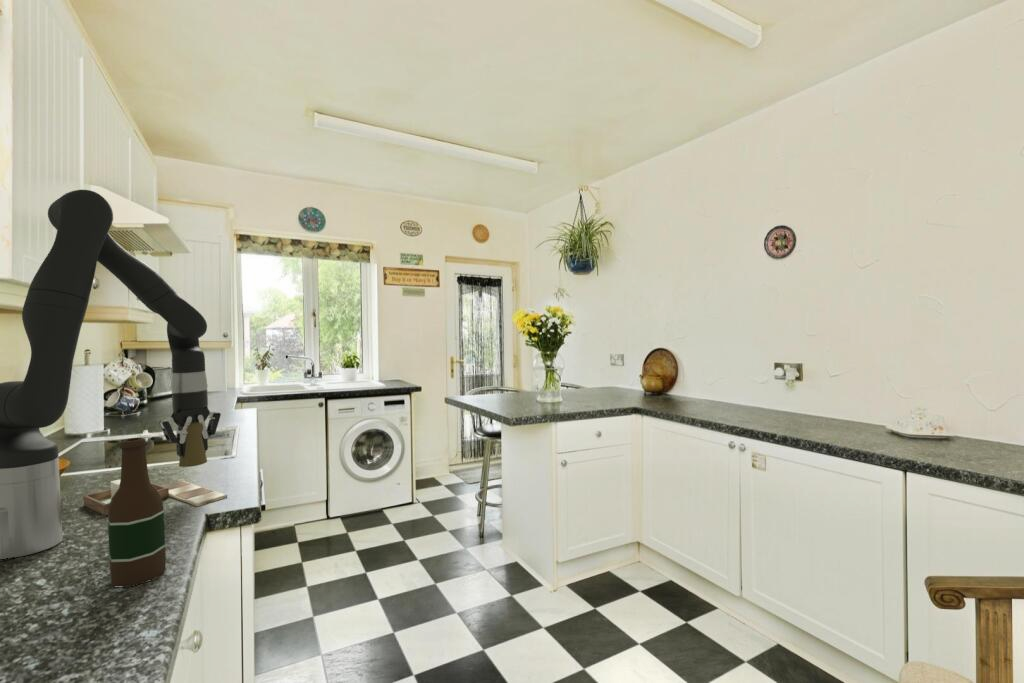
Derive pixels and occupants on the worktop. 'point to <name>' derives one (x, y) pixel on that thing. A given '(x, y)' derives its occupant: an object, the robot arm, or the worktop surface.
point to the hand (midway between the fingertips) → (192, 454)
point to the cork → (193, 446)
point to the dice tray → (103, 499)
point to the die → (114, 487)
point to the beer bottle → (135, 521)
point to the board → (193, 493)
